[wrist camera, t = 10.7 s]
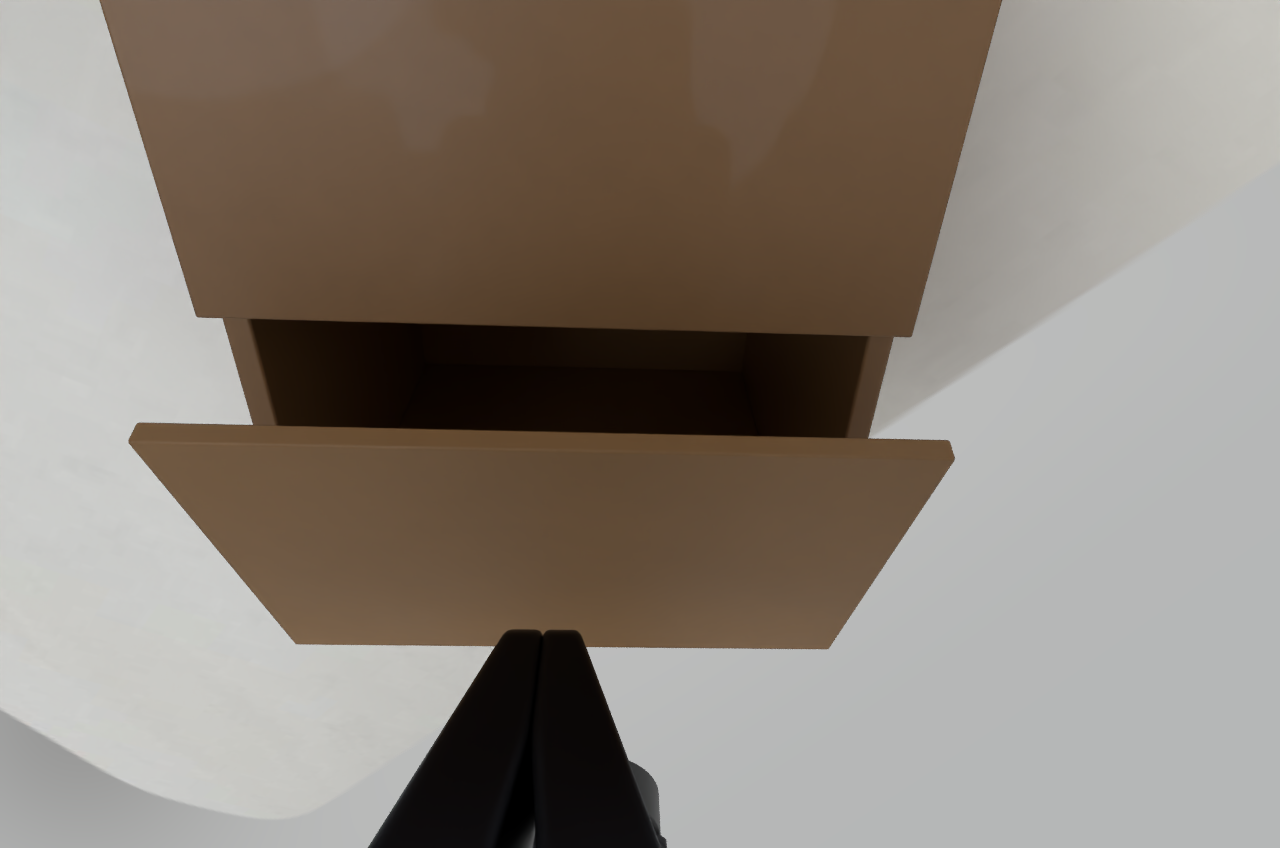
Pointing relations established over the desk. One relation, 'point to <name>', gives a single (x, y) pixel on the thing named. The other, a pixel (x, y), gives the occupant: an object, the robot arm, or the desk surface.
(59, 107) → the desk surface
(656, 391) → the carton
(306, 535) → the flap
